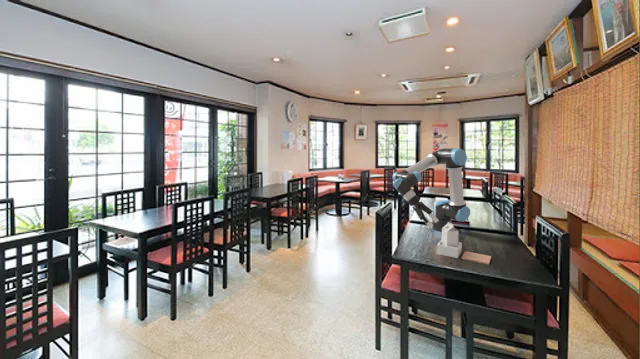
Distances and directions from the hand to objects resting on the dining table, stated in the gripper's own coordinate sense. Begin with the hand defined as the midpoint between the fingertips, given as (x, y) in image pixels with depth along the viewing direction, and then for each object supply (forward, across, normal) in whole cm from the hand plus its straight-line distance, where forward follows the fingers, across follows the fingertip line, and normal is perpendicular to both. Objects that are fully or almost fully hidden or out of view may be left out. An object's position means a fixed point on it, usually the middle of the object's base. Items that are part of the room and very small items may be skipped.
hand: (434, 224), depth 180 cm
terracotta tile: (+29, -1, +5) cm, 30 cm away
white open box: (+19, -1, -6) cm, 19 cm away
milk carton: (+19, -1, -6) cm, 20 cm away
